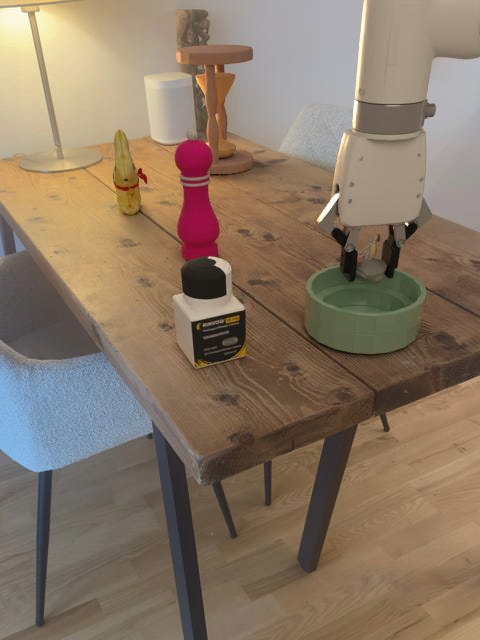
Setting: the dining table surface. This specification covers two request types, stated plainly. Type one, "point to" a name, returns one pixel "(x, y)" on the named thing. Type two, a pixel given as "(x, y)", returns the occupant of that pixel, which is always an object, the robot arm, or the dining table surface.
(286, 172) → the dining table surface
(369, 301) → the bowl
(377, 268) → the figurine
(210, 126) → the hourglass
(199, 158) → the pepper mill
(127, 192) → the chocolate bunny
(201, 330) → the medicine bottle
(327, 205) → the robot arm
